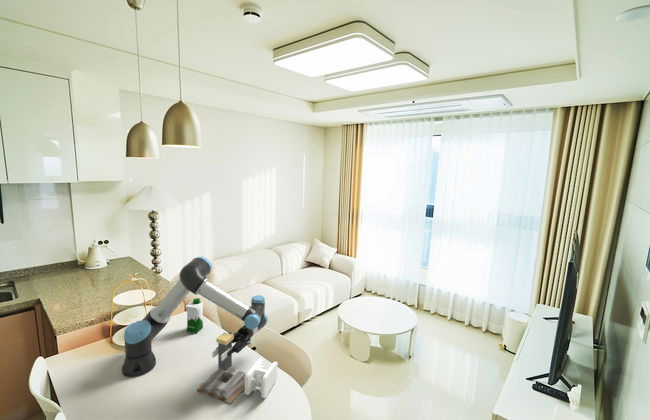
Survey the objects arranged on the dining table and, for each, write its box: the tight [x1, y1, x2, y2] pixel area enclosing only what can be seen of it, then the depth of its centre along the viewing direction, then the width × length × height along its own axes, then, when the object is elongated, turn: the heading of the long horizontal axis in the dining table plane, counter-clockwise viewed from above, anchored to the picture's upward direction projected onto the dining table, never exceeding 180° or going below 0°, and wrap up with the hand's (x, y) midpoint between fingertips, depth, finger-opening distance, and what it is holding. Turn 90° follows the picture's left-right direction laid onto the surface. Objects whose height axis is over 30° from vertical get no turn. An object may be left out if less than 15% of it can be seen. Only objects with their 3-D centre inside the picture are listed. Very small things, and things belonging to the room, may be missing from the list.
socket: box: [196, 366, 246, 405], centre depth 145 cm, size 20×16×5 cm
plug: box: [215, 331, 234, 371], centre depth 142 cm, size 6×6×16 cm
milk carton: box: [185, 297, 204, 334], centre depth 190 cm, size 9×9×20 cm
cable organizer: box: [244, 357, 278, 399], centre depth 144 cm, size 15×11×12 cm
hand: (217, 356), depth 137 cm, fingers closed on plug, 4 cm apart
